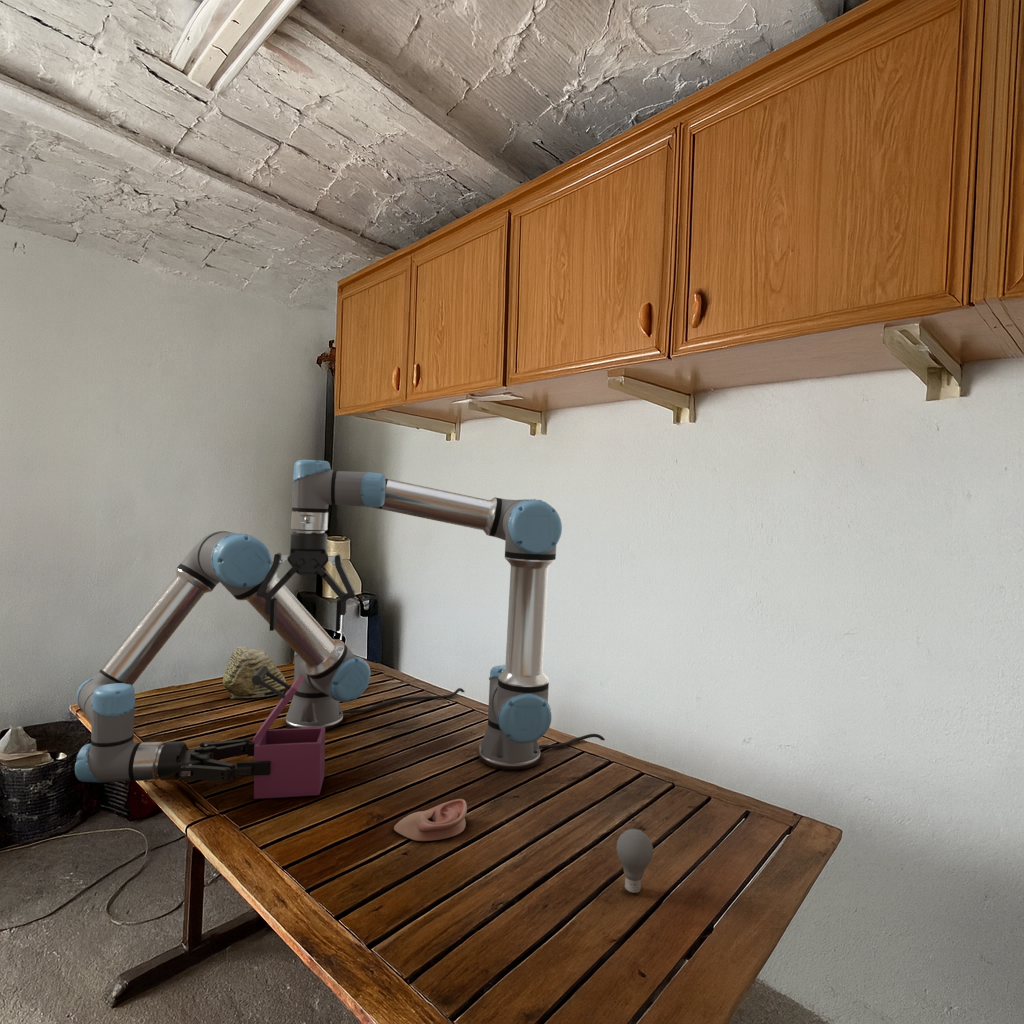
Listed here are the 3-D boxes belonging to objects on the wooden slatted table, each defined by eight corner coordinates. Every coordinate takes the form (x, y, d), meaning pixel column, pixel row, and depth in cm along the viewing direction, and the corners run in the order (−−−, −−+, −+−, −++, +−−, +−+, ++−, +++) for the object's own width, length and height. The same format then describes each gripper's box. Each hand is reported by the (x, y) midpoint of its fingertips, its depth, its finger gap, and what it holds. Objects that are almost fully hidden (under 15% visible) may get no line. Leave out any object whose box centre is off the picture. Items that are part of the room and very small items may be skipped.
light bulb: (610, 879, 108) (613, 822, 108) (644, 879, 109) (647, 822, 109) (619, 902, 102) (622, 840, 102) (655, 901, 103) (658, 840, 103)
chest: (324, 775, 143) (325, 727, 143) (319, 795, 134) (320, 743, 134) (263, 779, 141) (263, 729, 140) (253, 799, 132) (254, 746, 131)
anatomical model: (388, 815, 119) (410, 788, 130) (387, 836, 119) (409, 808, 130) (456, 826, 116) (472, 797, 127) (455, 847, 116) (471, 817, 128)
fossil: (218, 695, 195) (220, 647, 195) (278, 685, 208) (279, 640, 207) (228, 703, 189) (230, 653, 188) (289, 692, 201) (290, 645, 201)
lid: (304, 677, 142) (270, 654, 140) (297, 690, 132) (260, 666, 131) (266, 728, 141) (231, 705, 139) (256, 744, 131) (219, 720, 130)
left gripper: (179, 757, 144) (283, 754, 147) (140, 803, 122) (263, 799, 126) (181, 724, 143) (284, 722, 147) (142, 765, 122) (264, 761, 126)
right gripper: (244, 530, 131) (240, 633, 131) (367, 534, 135) (363, 633, 135) (252, 528, 138) (248, 625, 138) (369, 532, 142) (365, 626, 143)
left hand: (274, 758), depth 137 cm, fingers closed on chest, 9 cm apart
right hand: (305, 629), depth 137 cm, fingers open, 13 cm apart
